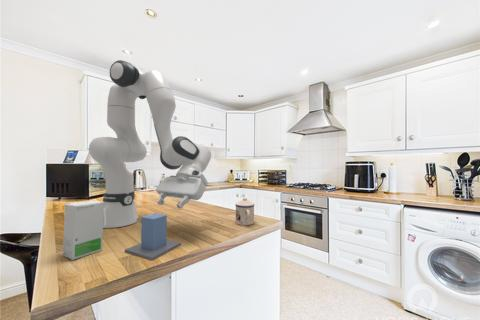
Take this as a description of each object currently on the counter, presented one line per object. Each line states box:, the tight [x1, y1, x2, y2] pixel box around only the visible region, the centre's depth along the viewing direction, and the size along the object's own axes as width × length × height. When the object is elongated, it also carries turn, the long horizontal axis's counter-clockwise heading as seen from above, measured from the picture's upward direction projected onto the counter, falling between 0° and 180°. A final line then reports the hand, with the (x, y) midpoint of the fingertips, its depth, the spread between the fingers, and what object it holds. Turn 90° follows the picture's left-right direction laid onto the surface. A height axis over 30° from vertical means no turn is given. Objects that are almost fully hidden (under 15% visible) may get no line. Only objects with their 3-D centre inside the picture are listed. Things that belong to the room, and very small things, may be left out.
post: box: [124, 238, 182, 261], centre depth 65 cm, size 12×12×8 cm
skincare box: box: [62, 200, 104, 261], centre depth 62 cm, size 8×7×16 cm
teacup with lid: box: [235, 197, 255, 226], centre depth 93 cm, size 12×9×12 cm
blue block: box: [140, 212, 168, 251], centre depth 65 cm, size 5×5×10 cm
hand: (168, 205), depth 71 cm, fingers open, 8 cm apart
